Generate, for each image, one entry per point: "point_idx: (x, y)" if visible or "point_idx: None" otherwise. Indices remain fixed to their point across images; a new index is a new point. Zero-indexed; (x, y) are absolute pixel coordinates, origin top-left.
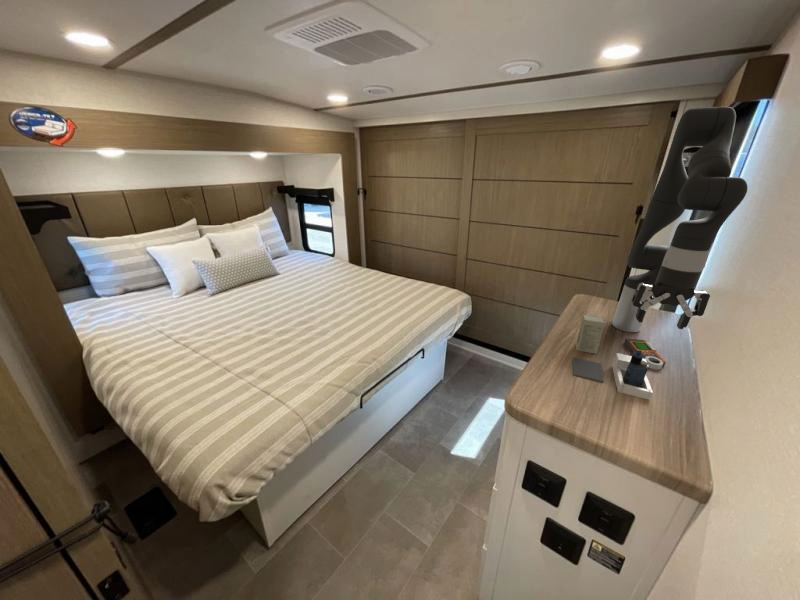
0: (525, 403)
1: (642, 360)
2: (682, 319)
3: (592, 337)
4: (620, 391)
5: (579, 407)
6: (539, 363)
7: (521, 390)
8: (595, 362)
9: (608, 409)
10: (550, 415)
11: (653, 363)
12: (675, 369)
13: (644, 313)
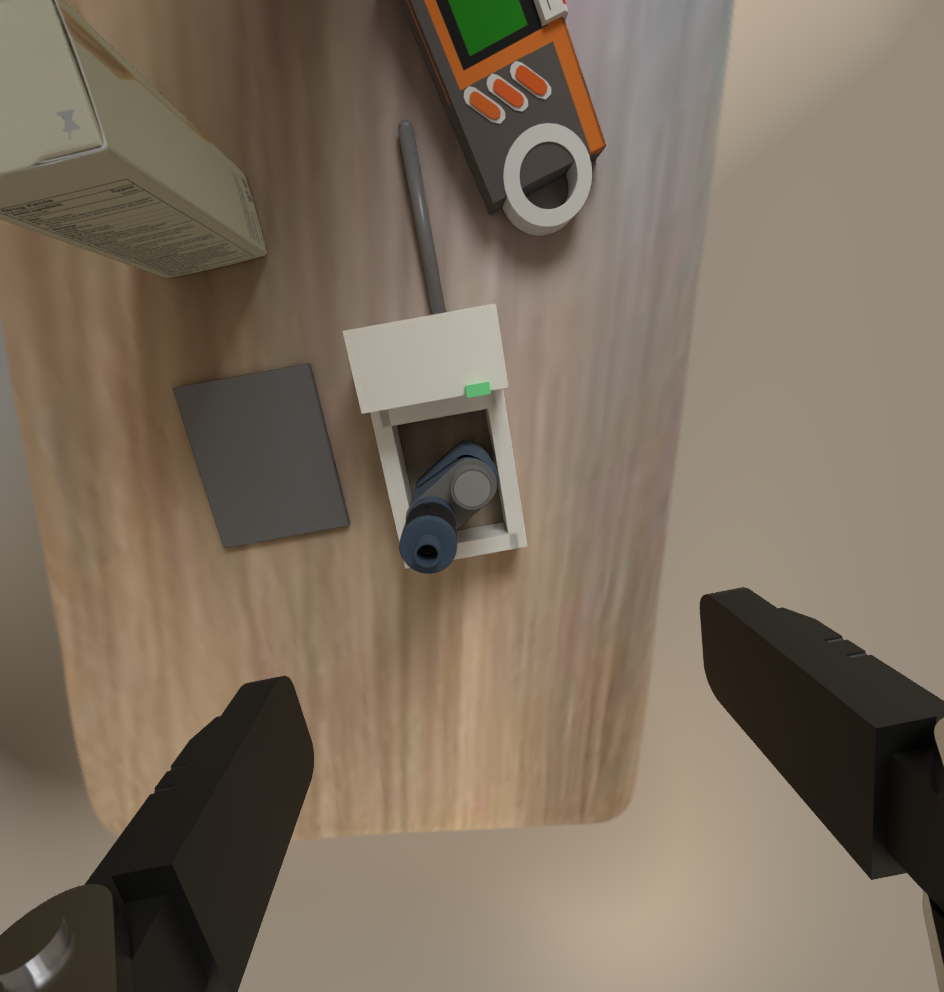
0: None
1: (479, 334)
2: (805, 784)
3: (158, 232)
4: None
5: None
6: (65, 546)
7: (101, 768)
8: (282, 372)
9: (392, 683)
10: None
11: (543, 218)
12: (647, 158)
13: (250, 920)
